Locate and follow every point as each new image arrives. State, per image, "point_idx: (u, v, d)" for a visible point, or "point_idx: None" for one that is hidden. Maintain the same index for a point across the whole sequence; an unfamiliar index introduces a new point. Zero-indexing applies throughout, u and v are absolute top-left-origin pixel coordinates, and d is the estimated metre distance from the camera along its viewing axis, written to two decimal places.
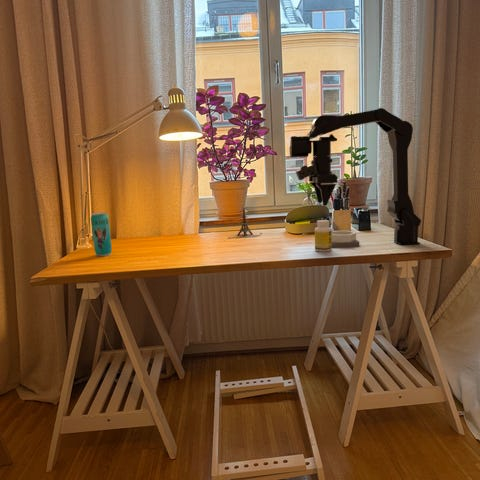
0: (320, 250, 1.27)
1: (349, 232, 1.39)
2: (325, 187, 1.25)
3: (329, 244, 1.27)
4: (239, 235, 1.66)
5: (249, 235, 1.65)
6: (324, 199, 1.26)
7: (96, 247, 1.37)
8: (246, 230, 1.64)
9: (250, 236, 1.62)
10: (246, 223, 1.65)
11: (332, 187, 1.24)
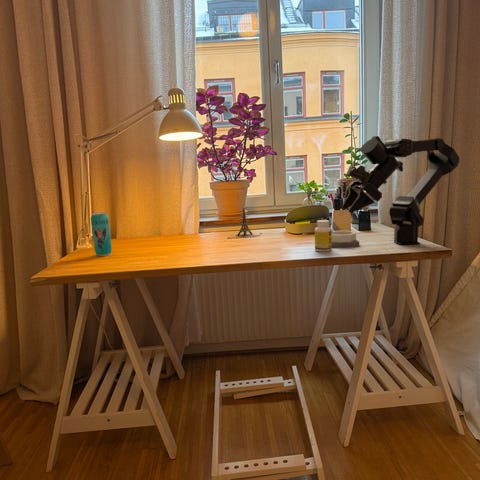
0: (320, 250, 1.27)
1: (349, 232, 1.39)
2: (363, 198, 1.20)
3: (329, 244, 1.27)
4: (239, 235, 1.65)
5: (249, 235, 1.64)
6: (354, 206, 1.21)
7: (96, 247, 1.37)
8: (246, 230, 1.64)
9: (250, 236, 1.62)
10: (246, 223, 1.65)
11: (369, 202, 1.20)
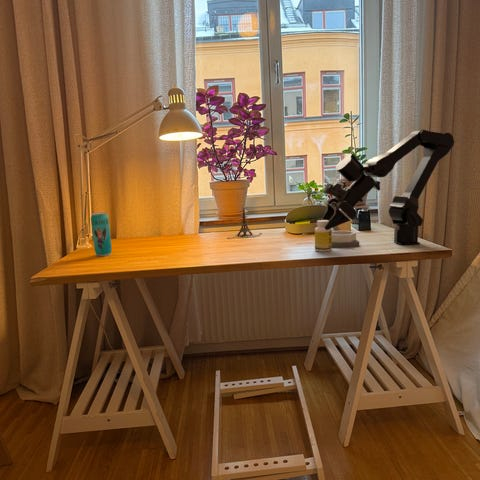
0: (320, 250, 1.27)
1: (349, 232, 1.39)
2: (339, 215, 1.21)
3: (329, 244, 1.27)
4: (239, 235, 1.65)
5: (249, 235, 1.64)
6: (329, 224, 1.22)
7: (96, 247, 1.37)
8: (246, 230, 1.64)
9: (250, 236, 1.61)
10: (246, 223, 1.64)
11: (344, 220, 1.21)
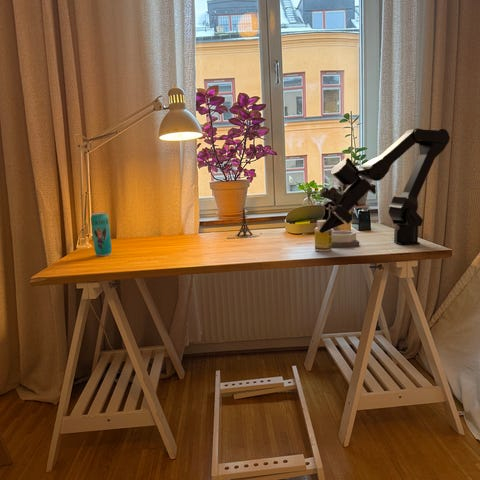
0: (320, 250, 1.27)
1: (349, 232, 1.39)
2: (333, 218, 1.23)
3: (329, 244, 1.27)
4: (239, 235, 1.65)
5: (249, 235, 1.64)
6: (324, 227, 1.24)
7: (96, 247, 1.37)
8: (246, 230, 1.63)
9: (250, 236, 1.61)
10: (246, 223, 1.64)
11: (339, 223, 1.23)
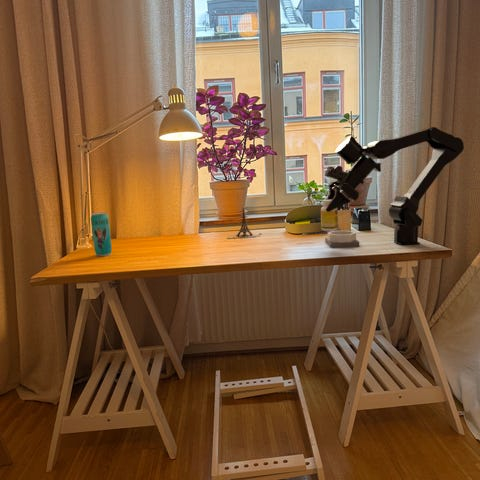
0: (327, 229, 1.28)
1: (349, 232, 1.39)
2: (340, 197, 1.24)
3: (335, 223, 1.28)
4: (239, 236, 1.64)
5: (249, 236, 1.63)
6: (330, 205, 1.25)
7: (96, 247, 1.37)
8: (246, 231, 1.63)
9: (250, 237, 1.61)
10: None
11: (345, 201, 1.24)
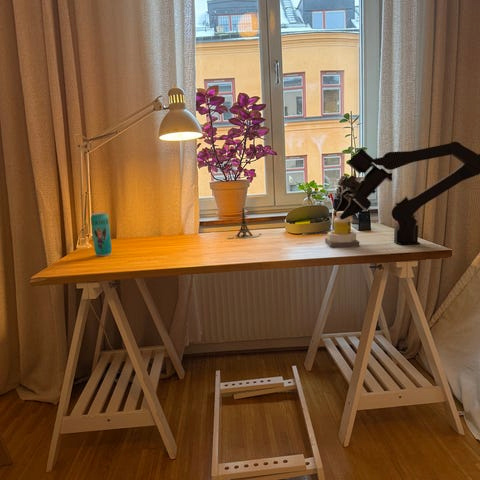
0: None
1: None
2: (353, 206, 1.29)
3: None
4: (238, 236, 1.64)
5: (248, 236, 1.63)
6: (344, 213, 1.30)
7: (96, 247, 1.37)
8: (245, 231, 1.62)
9: (249, 237, 1.60)
10: (245, 224, 1.63)
11: (358, 210, 1.29)
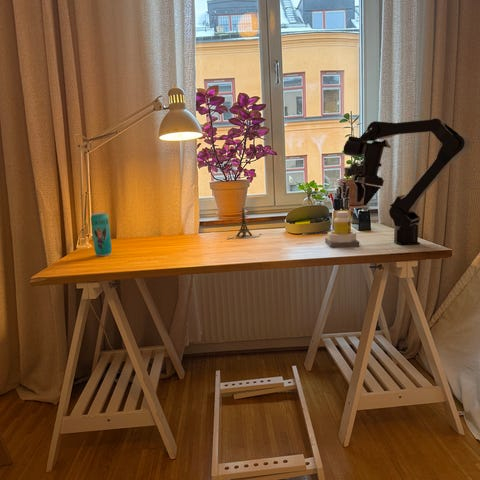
0: None
1: None
2: (369, 188, 1.33)
3: None
4: (238, 236, 1.63)
5: (248, 236, 1.62)
6: (365, 199, 1.34)
7: (96, 247, 1.37)
8: (245, 231, 1.62)
9: (249, 237, 1.60)
10: (245, 224, 1.62)
11: (376, 189, 1.32)
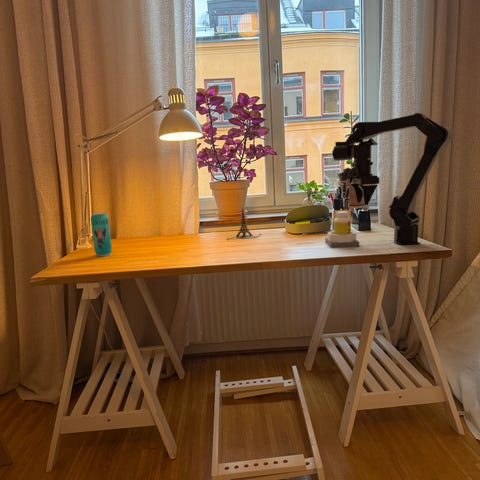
0: None
1: None
2: (367, 188, 1.35)
3: None
4: (238, 236, 1.63)
5: (248, 236, 1.62)
6: (366, 199, 1.36)
7: (96, 247, 1.37)
8: (245, 231, 1.61)
9: (249, 237, 1.59)
10: (245, 224, 1.62)
11: (374, 188, 1.34)
